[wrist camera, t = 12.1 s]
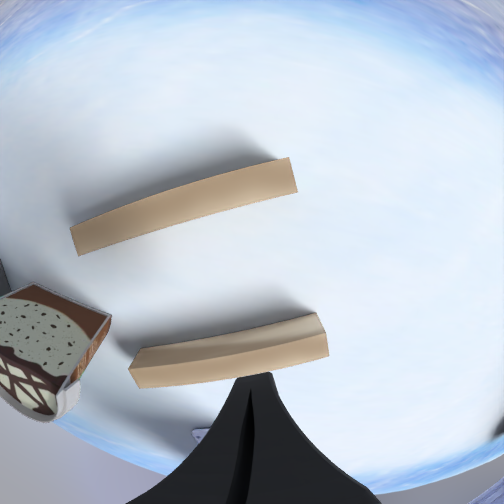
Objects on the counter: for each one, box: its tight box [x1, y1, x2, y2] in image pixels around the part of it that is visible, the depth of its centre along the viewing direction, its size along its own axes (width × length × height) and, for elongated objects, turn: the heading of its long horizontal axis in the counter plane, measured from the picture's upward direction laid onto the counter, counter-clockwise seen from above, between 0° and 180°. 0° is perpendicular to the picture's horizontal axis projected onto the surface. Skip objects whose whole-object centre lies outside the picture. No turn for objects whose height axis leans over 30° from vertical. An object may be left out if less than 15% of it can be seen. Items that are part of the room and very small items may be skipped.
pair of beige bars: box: [70, 157, 329, 389], centre depth 17 cm, size 13×14×3 cm
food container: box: [0, 282, 112, 423], centre depth 15 cm, size 12×6×10 cm, turn 75°
